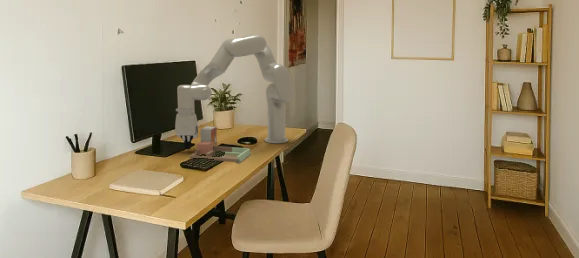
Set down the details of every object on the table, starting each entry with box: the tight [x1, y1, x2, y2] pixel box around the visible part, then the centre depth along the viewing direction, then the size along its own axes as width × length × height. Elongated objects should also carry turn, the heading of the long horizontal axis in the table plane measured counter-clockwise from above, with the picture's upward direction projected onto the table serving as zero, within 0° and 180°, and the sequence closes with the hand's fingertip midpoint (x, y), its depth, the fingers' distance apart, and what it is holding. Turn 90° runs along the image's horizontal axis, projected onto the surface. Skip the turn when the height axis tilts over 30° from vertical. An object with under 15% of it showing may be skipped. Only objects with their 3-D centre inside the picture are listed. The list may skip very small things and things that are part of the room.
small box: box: [200, 126, 218, 146], centre depth 214 cm, size 8×6×10 cm
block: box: [196, 141, 213, 154], centre depth 203 cm, size 6×6×5 cm
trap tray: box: [188, 145, 251, 164], centre depth 199 cm, size 15×24×3 cm, turn 76°
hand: (187, 148), depth 206 cm, fingers closed
